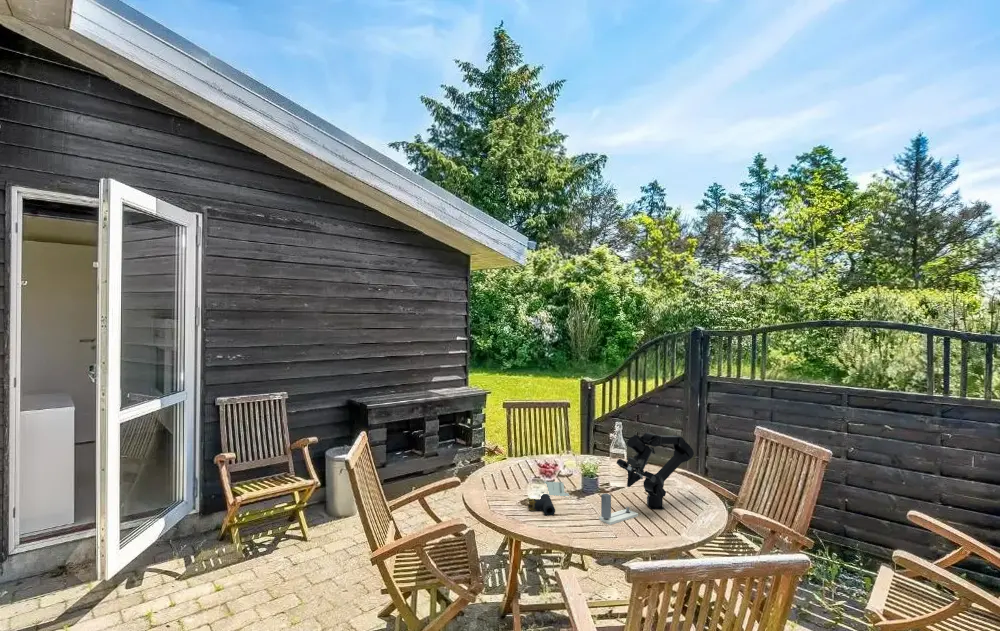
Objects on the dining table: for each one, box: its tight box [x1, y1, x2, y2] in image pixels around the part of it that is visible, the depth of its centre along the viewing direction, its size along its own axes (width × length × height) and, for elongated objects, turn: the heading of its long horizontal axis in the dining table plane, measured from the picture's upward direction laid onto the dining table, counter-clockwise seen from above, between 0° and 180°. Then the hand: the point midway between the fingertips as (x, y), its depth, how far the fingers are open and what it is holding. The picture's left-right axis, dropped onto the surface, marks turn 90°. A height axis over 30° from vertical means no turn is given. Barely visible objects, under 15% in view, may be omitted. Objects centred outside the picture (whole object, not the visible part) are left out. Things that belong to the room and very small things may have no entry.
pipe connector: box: [527, 494, 556, 516], centre depth 233 cm, size 12×5×15 cm
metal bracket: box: [543, 480, 570, 497], centre depth 256 cm, size 14×6×15 cm
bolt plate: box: [598, 506, 639, 526], centre depth 224 cm, size 18×7×4 cm, turn 122°
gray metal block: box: [600, 492, 612, 519], centre depth 219 cm, size 3×3×11 cm
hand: (627, 486), depth 229 cm, fingers closed
